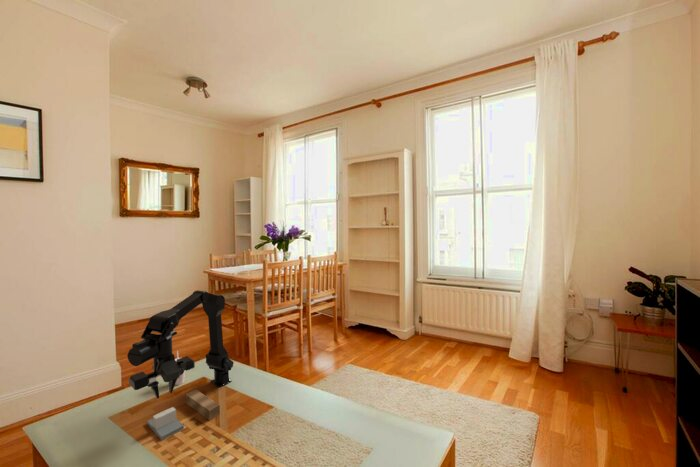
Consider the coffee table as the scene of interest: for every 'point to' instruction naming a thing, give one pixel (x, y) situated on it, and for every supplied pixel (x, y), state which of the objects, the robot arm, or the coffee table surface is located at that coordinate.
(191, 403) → the walnut bar
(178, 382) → the smoothie
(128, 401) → the coffee table surface
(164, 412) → the stand
